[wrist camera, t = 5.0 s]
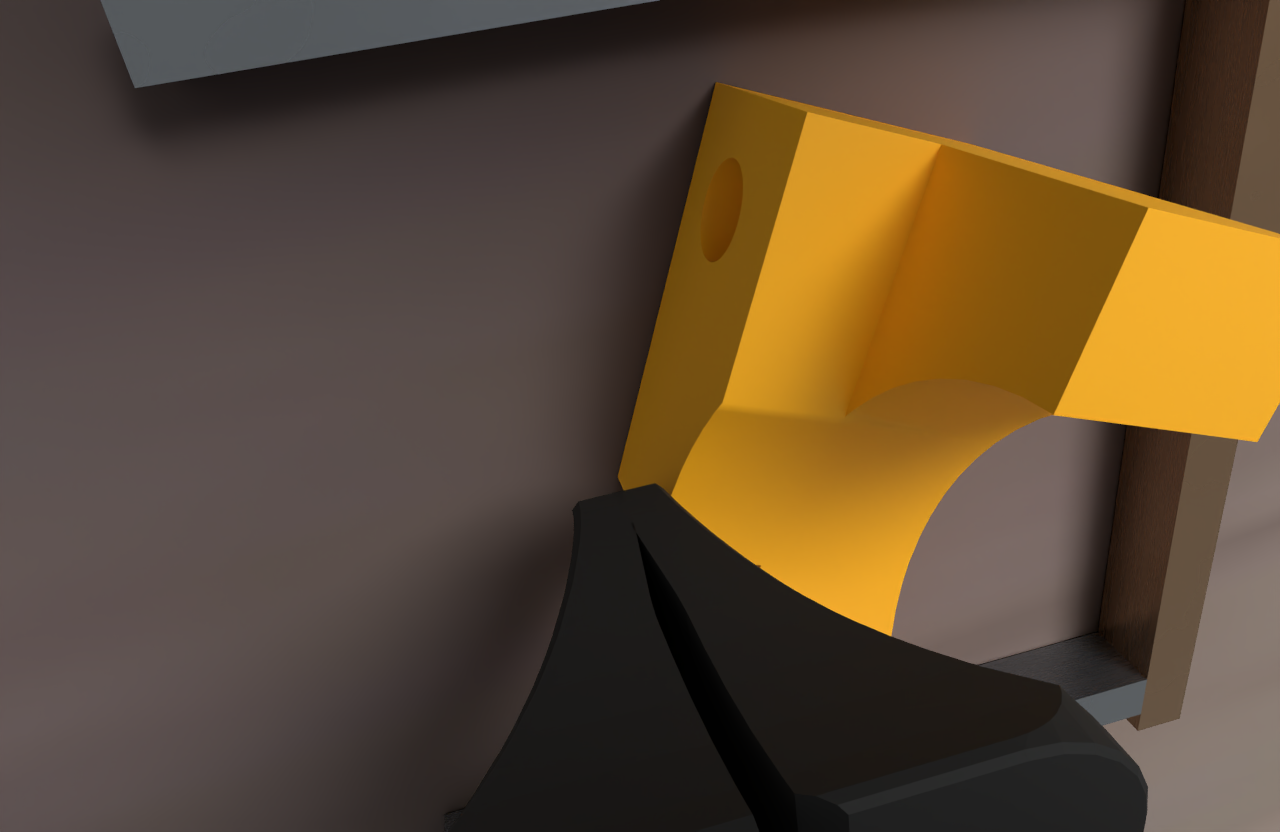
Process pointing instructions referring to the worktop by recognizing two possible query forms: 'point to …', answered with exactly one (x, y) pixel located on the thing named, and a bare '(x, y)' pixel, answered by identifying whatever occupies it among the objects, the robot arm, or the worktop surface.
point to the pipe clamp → (919, 333)
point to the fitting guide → (1152, 458)
